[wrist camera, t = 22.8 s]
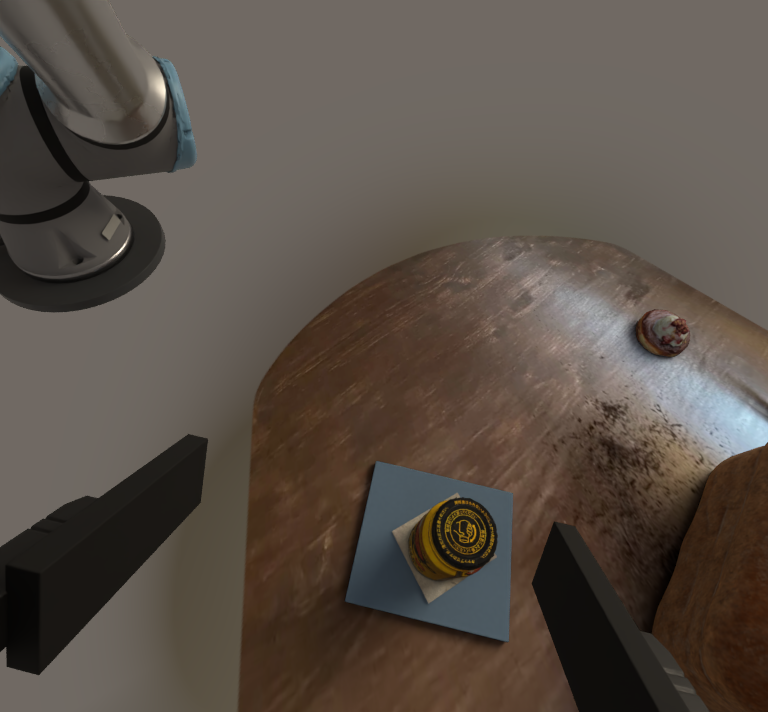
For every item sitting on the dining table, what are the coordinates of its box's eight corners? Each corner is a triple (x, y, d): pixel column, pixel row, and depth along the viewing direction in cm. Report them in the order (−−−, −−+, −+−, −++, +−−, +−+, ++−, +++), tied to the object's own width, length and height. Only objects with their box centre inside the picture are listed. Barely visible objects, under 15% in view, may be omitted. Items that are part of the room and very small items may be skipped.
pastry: (652, 362, 56) (678, 343, 52) (622, 322, 60) (643, 301, 56) (694, 351, 58) (722, 332, 54) (662, 312, 62) (686, 292, 58)
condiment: (391, 531, 41) (407, 510, 30) (457, 492, 43) (491, 462, 33) (427, 603, 38) (459, 607, 27) (496, 557, 40) (547, 544, 30)
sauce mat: (344, 601, 38) (344, 601, 37) (375, 462, 45) (376, 460, 44) (505, 641, 37) (508, 642, 36) (510, 494, 45) (513, 493, 44)
